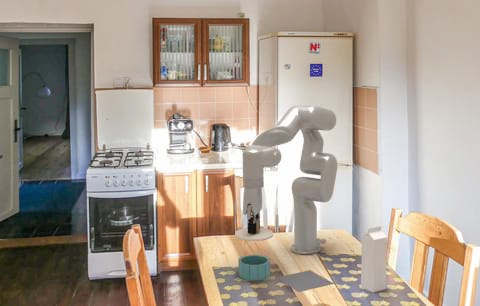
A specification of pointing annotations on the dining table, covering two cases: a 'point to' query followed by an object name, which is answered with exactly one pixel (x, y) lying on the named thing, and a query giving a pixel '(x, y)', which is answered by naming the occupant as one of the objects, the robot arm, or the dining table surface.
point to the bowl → (254, 267)
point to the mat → (304, 280)
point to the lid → (259, 236)
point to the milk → (374, 260)
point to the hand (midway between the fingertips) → (253, 231)
